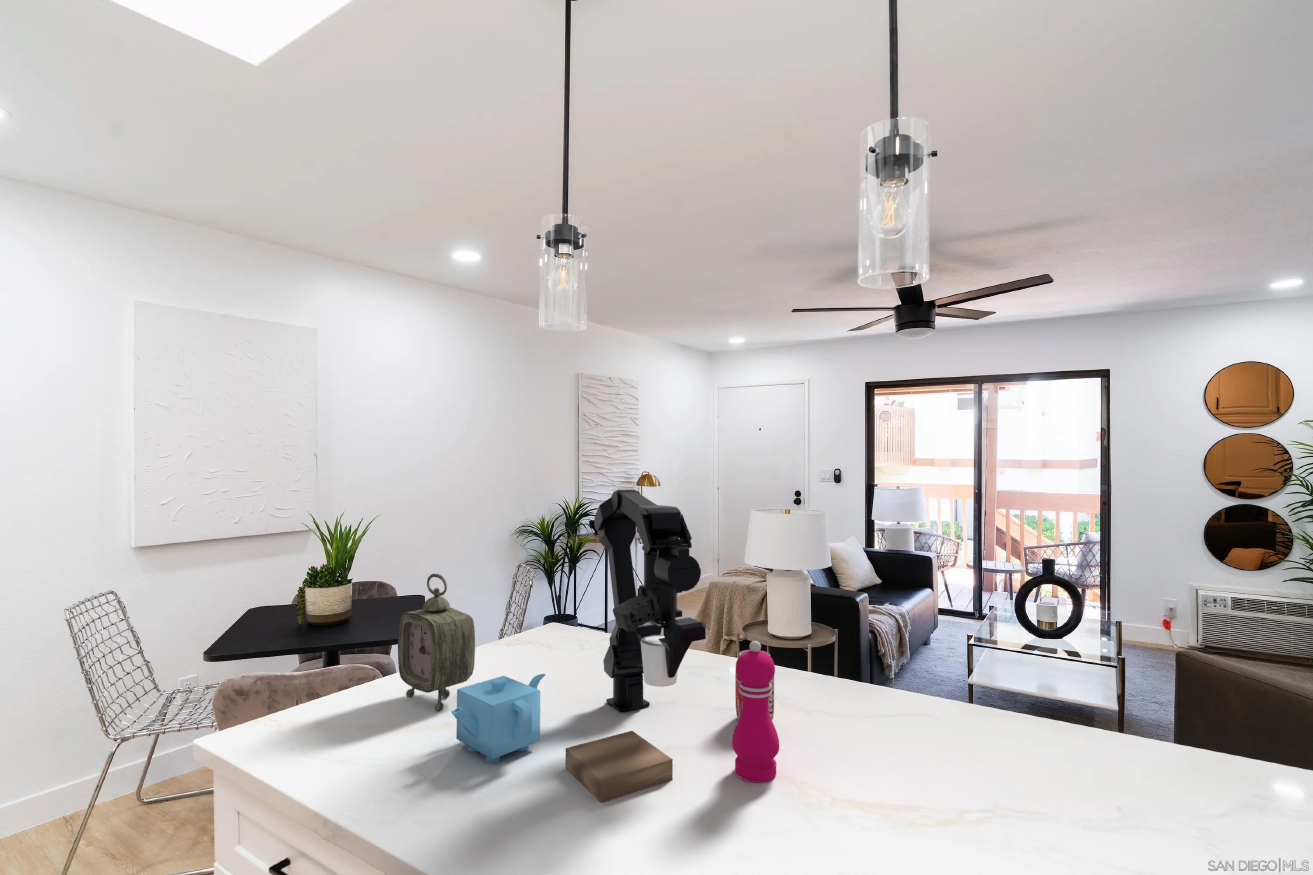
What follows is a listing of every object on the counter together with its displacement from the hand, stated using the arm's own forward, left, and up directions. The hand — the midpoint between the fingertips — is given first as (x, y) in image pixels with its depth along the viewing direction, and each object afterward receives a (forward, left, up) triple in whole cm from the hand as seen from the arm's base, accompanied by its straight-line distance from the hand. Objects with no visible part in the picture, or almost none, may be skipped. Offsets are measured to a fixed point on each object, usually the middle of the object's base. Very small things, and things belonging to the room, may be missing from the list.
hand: (660, 671), depth 110 cm
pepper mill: (+17, +6, -12) cm, 22 cm away
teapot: (-12, -24, -12) cm, 29 cm away
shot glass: (0, 0, -2) cm, 2 cm away
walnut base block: (+6, -12, -12) cm, 18 cm away
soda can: (+2, +19, -12) cm, 23 cm away
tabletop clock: (-39, -28, -12) cm, 49 cm away
